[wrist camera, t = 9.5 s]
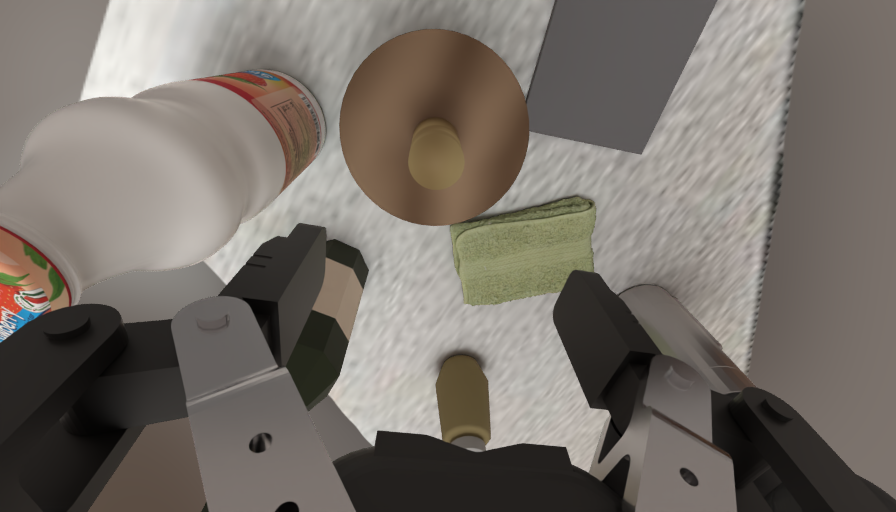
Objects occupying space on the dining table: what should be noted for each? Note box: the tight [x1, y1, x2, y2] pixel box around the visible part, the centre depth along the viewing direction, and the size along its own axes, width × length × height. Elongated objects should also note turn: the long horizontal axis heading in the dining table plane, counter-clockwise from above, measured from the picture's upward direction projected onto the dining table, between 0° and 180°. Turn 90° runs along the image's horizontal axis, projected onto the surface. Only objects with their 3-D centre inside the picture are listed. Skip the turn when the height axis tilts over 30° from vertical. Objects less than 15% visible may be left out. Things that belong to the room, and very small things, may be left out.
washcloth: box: [450, 197, 596, 306], centre depth 43 cm, size 13×18×3 cm
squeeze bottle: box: [436, 355, 491, 452], centre depth 48 cm, size 8×8×18 cm
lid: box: [339, 29, 529, 226], centre depth 22 cm, size 13×13×6 cm
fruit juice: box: [0, 69, 325, 343], centre depth 23 cm, size 9×9×28 cm
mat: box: [526, 0, 717, 154], centre depth 33 cm, size 14×14×1 cm
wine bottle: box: [202, 239, 369, 512], centre depth 31 cm, size 8×8×30 cm
